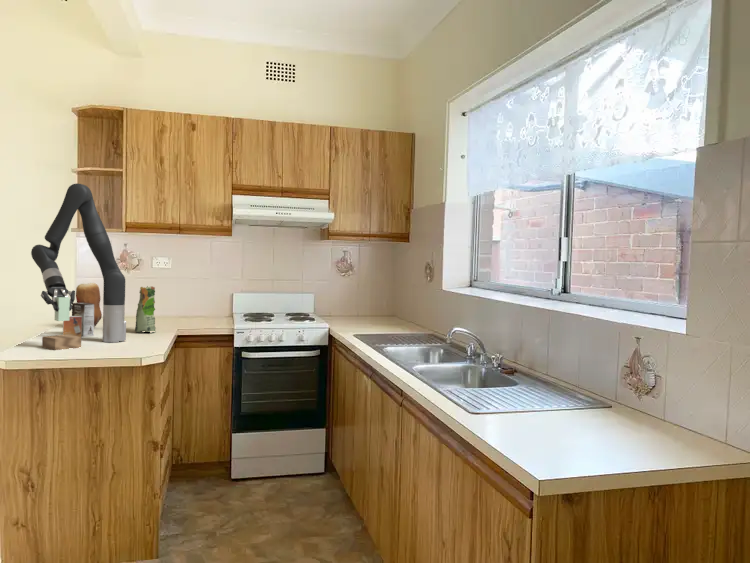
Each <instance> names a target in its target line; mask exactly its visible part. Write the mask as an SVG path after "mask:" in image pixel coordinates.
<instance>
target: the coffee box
mask: <svg viewBox="0 0 750 563" xmlns="http://www.w3.org/2000/svg"><path fill="white" fill-rule="evenodd" d="M71 316H82V335H81V337H88V336H87V335H90V336H95V334H94V333H95V332H94V331H95V330H94V329H95V327H94V304H92V303H83V302H82V303H77V302H73V304H72V309H71Z"/></svg>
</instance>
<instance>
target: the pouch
mask: <svg viewBox="0 0 750 563" xmlns="http://www.w3.org/2000/svg"><path fill="white" fill-rule="evenodd" d="M155 289H156V287H155V286H148V285H147V286H146V287H144V286H140V288H139V301H138V303H137V309H136V315H135V326H134V327H135V328H134V332H137V333H141V332H140V331H145V332H150V331H155V332H156V329H157V328H156V318H155V314H154V313H155V310H156V308H155V303H156V301H155V295H156V294H155V293H156V290H155Z"/></svg>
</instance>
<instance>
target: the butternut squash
mask: <svg viewBox="0 0 750 563" xmlns="http://www.w3.org/2000/svg"><path fill="white" fill-rule="evenodd" d="M75 300H76V303H82V302H83V303H92V304H94V328H95V327H96V326H97V325H98V323H99V322H100V321H101V320H102V318H103V313H102V311H101V304H100V302H101V292H100V287H99V285H98V284H97V283H95V282H90V283H80V284H78V285H77V286H76V289H75Z"/></svg>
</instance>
